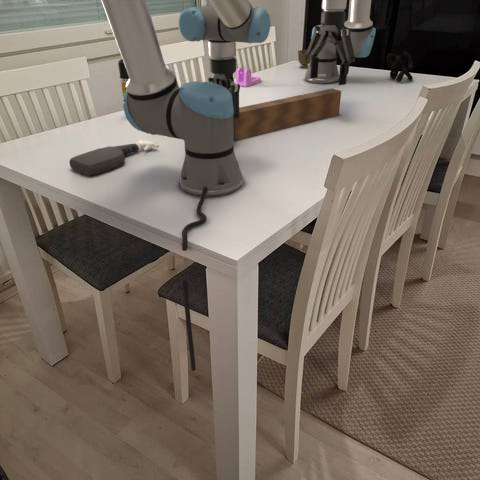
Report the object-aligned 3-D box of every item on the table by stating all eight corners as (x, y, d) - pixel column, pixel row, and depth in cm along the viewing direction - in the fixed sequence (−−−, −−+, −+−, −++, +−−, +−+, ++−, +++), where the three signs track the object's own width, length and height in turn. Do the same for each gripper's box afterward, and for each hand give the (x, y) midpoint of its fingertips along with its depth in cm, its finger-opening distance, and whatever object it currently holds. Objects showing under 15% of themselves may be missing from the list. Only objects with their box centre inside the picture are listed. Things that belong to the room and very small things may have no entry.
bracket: (246, 86, 195) (246, 69, 191) (236, 85, 197) (235, 68, 194) (263, 80, 203) (263, 64, 200) (253, 79, 206) (253, 63, 202)
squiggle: (400, 92, 202) (376, 71, 205) (417, 76, 202) (392, 56, 205) (405, 81, 191) (380, 59, 194) (423, 64, 191) (397, 42, 194)
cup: (294, 68, 226) (295, 51, 222) (300, 65, 232) (301, 48, 227) (308, 69, 223) (309, 52, 219) (313, 66, 229) (315, 49, 224)
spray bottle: (67, 168, 120) (139, 144, 136) (91, 178, 114) (163, 151, 130) (65, 157, 118) (137, 134, 134) (89, 167, 112) (162, 142, 128)
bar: (216, 145, 134) (215, 117, 129) (208, 141, 137) (207, 114, 132) (338, 114, 157) (341, 90, 153) (329, 112, 161) (331, 88, 156)
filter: (143, 118, 157) (130, 24, 141) (127, 120, 156) (112, 25, 140) (140, 114, 162) (127, 22, 146) (124, 116, 160) (110, 23, 144)
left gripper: (252, 60, 120) (252, 143, 133) (217, 51, 133) (220, 128, 145) (228, 63, 117) (231, 149, 129) (195, 54, 129) (200, 133, 141)
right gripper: (372, 12, 132) (363, 86, 143) (315, 7, 150) (310, 73, 161) (355, 13, 129) (346, 89, 140) (298, 8, 146) (294, 76, 157)
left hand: (225, 138), depth 137 cm, fingers closed on bar, 5 cm apart
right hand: (327, 81), depth 150 cm, fingers open, 13 cm apart
